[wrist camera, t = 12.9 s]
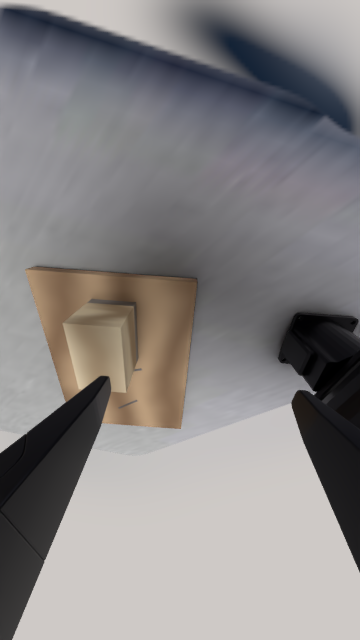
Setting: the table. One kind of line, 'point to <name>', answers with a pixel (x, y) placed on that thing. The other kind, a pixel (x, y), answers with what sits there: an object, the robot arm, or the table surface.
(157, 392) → the light brown wooden board
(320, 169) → the table surface
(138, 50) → the table surface
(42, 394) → the table surface
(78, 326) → the block
